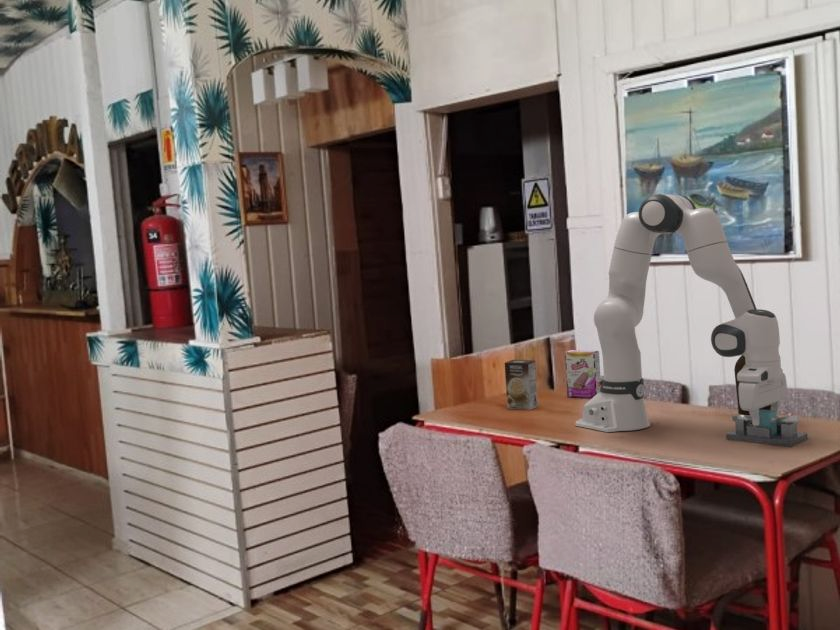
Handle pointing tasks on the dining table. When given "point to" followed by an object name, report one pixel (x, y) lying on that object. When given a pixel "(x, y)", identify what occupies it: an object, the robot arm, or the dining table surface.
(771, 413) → the coupler
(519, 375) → the coffee box
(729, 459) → the dining table surface
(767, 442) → the shaft rig
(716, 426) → the dining table surface
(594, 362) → the candy bar box
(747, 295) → the robot arm
